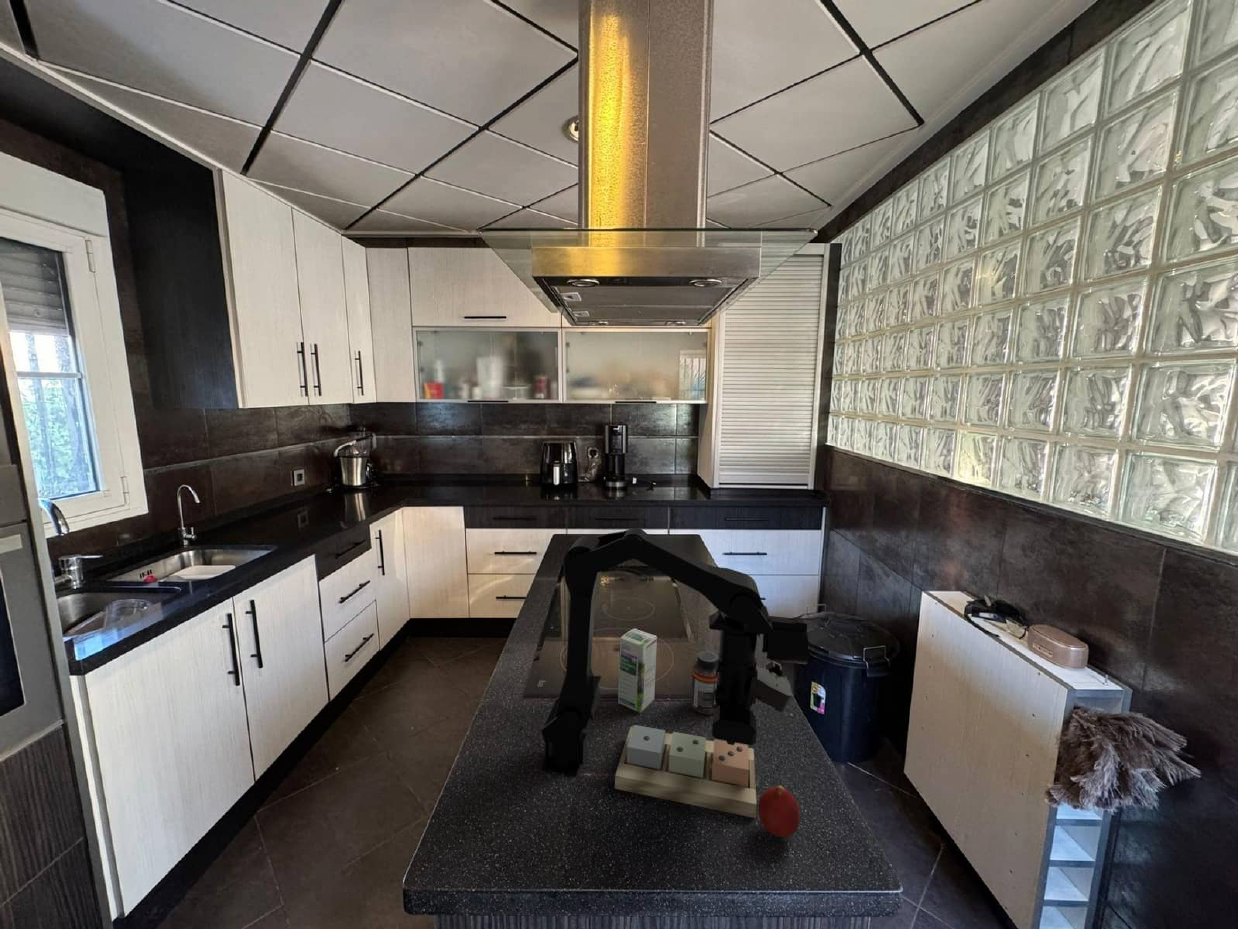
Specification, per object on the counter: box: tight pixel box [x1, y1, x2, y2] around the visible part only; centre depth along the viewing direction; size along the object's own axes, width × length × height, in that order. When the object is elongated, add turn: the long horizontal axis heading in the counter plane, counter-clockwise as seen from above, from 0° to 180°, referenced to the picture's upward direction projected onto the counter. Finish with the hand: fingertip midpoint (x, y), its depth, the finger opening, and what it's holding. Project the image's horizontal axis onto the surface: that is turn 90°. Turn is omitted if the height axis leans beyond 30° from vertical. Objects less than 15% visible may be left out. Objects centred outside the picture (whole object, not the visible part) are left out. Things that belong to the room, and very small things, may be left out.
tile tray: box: [614, 726, 757, 819], centre depth 83 cm, size 22×12×2 cm, turn 77°
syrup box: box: [617, 628, 658, 714], centre depth 101 cm, size 6×6×14 cm
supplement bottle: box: [690, 650, 718, 716], centre depth 100 cm, size 6×6×11 cm
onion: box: [757, 785, 801, 838], centre depth 72 cm, size 6×6×8 cm
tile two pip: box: [668, 731, 707, 778], centre depth 82 cm, size 6×6×3 cm
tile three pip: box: [712, 738, 749, 787], centre depth 81 cm, size 6×6×3 cm
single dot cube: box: [627, 724, 666, 769], centre depth 84 cm, size 6×6×3 cm
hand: (730, 743), depth 80 cm, fingers closed
